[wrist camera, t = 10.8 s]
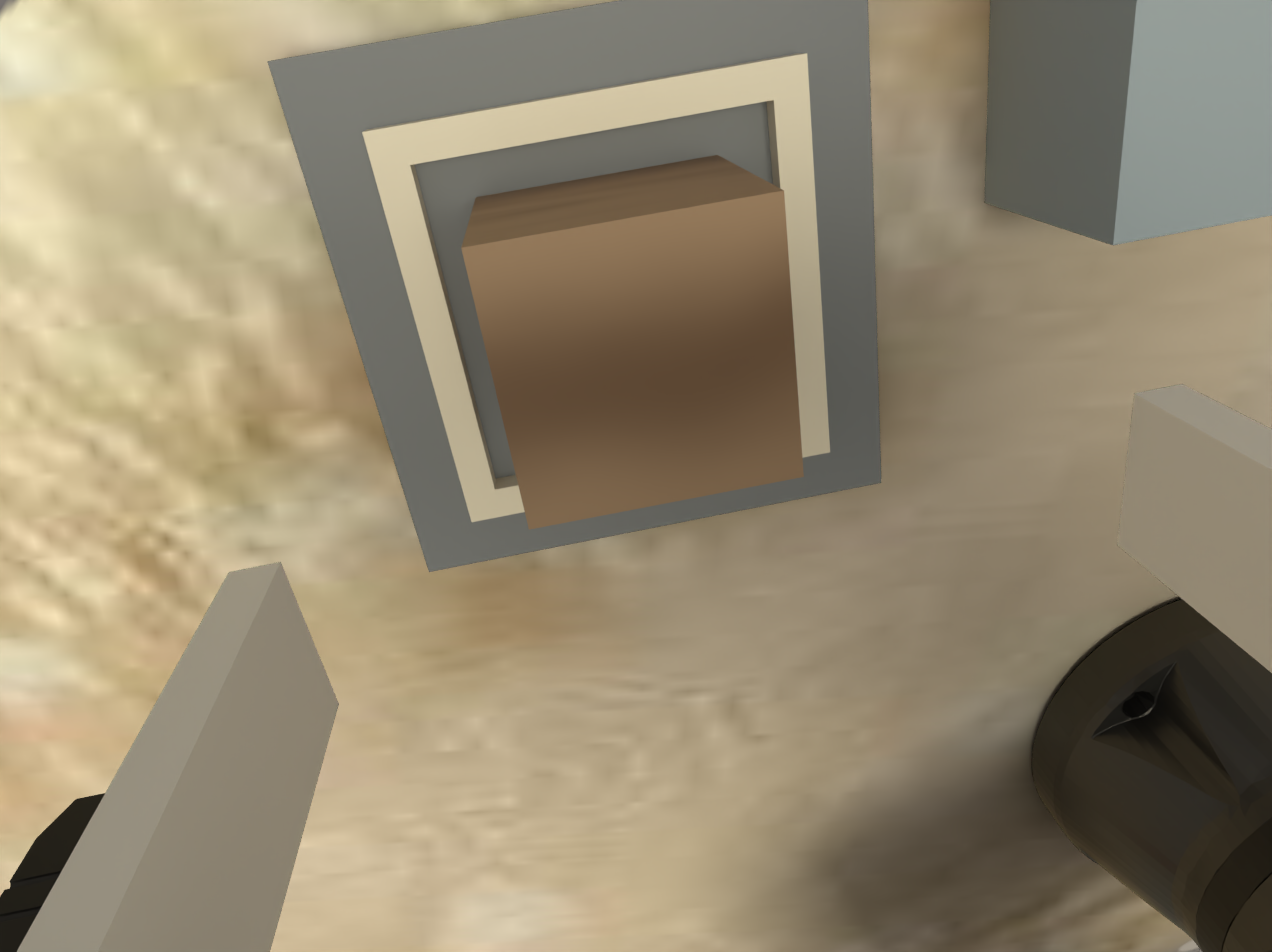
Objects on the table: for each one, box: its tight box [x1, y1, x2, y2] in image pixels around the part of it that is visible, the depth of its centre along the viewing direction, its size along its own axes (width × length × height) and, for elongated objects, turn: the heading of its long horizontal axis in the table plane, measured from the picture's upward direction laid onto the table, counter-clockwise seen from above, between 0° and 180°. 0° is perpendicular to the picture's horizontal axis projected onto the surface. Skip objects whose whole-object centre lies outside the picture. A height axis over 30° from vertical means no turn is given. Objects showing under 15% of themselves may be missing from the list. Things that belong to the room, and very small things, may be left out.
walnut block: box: [461, 155, 804, 530], centre depth 23 cm, size 7×7×7 cm
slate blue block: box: [985, 0, 1272, 245], centre depth 24 cm, size 7×7×7 cm
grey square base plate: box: [268, 0, 881, 572], centre depth 27 cm, size 16×16×3 cm
